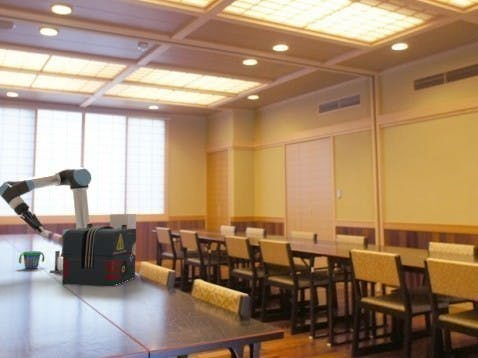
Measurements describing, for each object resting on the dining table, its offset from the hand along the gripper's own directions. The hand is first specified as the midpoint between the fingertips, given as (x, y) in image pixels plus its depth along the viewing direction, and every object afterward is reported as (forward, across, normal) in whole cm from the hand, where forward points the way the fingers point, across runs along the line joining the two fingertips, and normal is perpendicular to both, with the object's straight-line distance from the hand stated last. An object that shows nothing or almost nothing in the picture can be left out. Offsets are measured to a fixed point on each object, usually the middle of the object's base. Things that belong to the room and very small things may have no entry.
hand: (45, 236), depth 272 cm
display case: (+44, -15, +13) cm, 48 cm away
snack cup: (0, -26, -32) cm, 41 cm away
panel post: (+16, -14, -15) cm, 26 cm away
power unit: (+43, +14, +12) cm, 46 cm away
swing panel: (+22, -6, -7) cm, 24 cm away
